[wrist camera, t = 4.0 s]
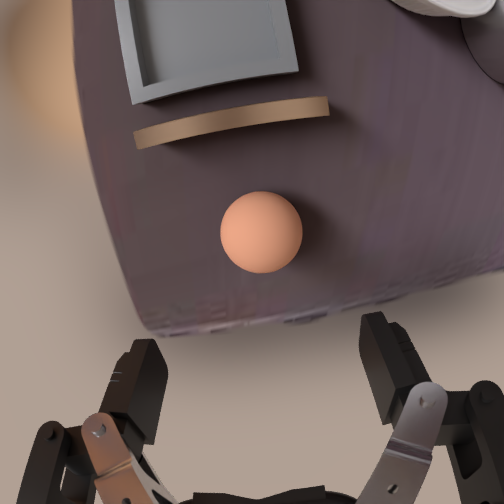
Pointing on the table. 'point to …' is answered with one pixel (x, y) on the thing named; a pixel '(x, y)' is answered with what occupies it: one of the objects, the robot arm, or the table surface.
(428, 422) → the robot arm
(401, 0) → the ramekin
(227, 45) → the tray
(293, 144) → the table surface
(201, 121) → the wall
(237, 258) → the ball
